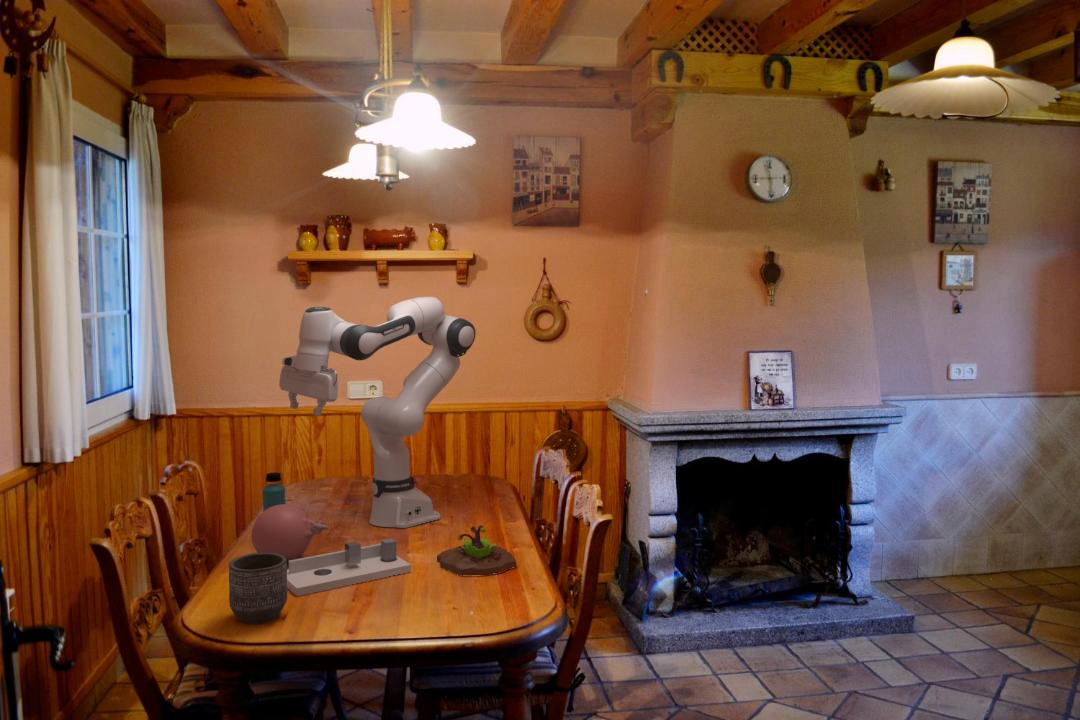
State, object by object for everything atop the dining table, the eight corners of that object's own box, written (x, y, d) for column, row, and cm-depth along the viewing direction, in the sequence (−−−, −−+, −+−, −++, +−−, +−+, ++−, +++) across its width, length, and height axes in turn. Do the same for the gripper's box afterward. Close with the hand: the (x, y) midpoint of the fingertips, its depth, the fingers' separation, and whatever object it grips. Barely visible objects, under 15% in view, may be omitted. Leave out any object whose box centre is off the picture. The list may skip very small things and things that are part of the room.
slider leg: (353, 559, 210) (353, 539, 209) (360, 564, 206) (360, 544, 206) (342, 561, 208) (342, 541, 207) (349, 566, 204) (349, 546, 204)
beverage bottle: (279, 545, 229) (278, 476, 227) (258, 543, 230) (257, 475, 228) (290, 538, 235) (290, 471, 233) (270, 537, 236) (269, 470, 235)
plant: (460, 582, 202) (460, 539, 201) (428, 560, 219) (428, 520, 218) (528, 569, 213) (528, 528, 212) (492, 549, 230) (493, 510, 229)
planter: (252, 603, 186) (251, 549, 185) (298, 610, 183) (297, 555, 182) (217, 624, 175) (216, 566, 174) (265, 631, 171) (264, 573, 170)
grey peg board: (387, 557, 220) (387, 532, 219) (411, 572, 208) (411, 545, 208) (278, 579, 202) (277, 551, 202) (297, 596, 191) (296, 567, 190)
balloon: (318, 572, 207) (317, 514, 206) (242, 570, 208) (241, 512, 207) (336, 553, 222) (336, 499, 221) (265, 551, 223) (264, 497, 222)
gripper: (346, 370, 225) (339, 418, 226) (295, 358, 235) (289, 404, 236) (329, 369, 219) (322, 419, 220) (278, 357, 230) (272, 405, 231)
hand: (305, 411), depth 228 cm, fingers open, 8 cm apart
